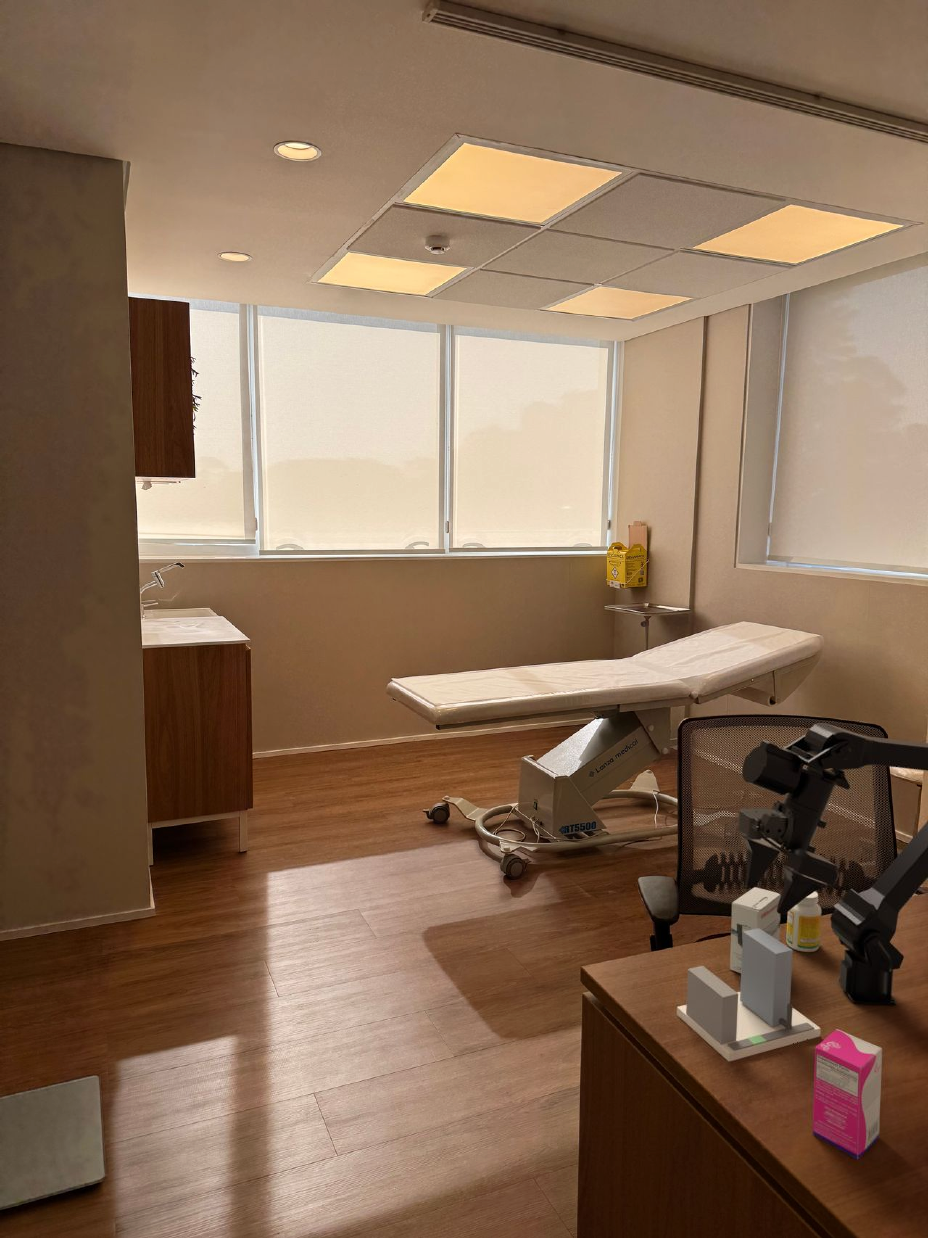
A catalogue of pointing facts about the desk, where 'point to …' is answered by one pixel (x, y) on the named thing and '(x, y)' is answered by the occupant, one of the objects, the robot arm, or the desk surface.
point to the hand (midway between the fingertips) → (763, 900)
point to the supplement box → (847, 1092)
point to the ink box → (753, 920)
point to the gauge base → (751, 1030)
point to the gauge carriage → (766, 977)
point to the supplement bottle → (804, 925)
